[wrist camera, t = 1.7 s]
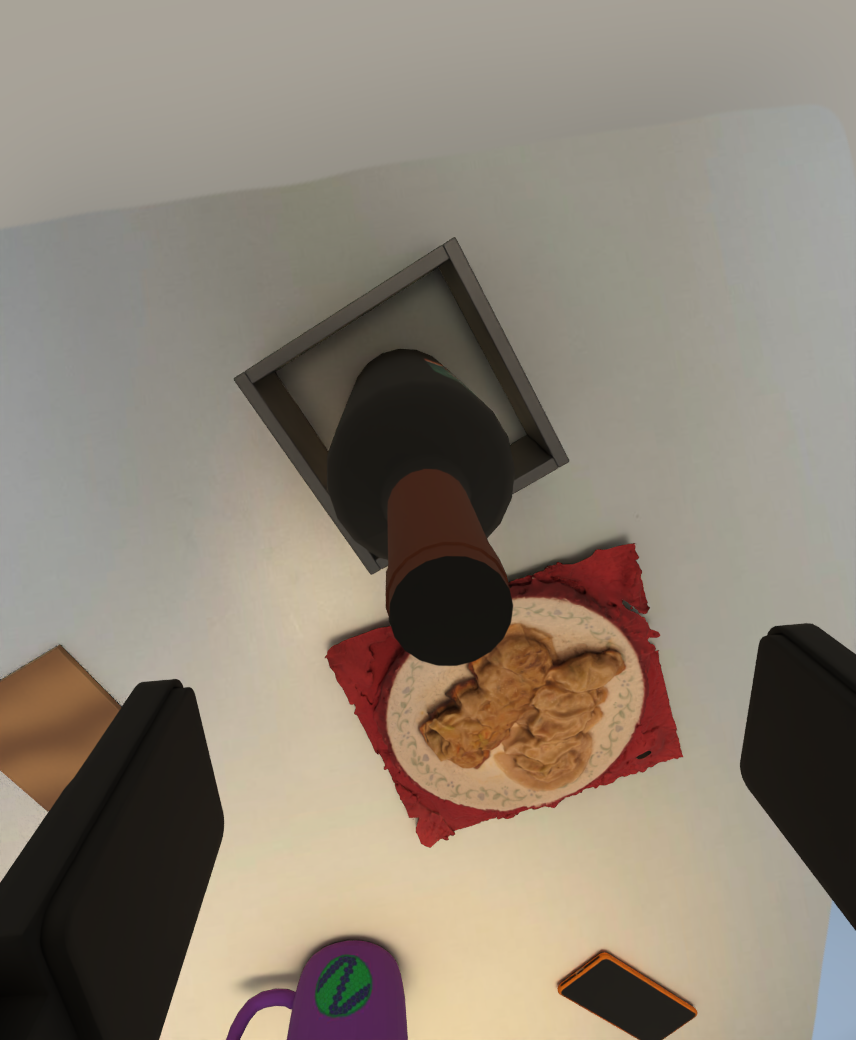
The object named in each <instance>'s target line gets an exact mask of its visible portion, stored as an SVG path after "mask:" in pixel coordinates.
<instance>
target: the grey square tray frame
mask: <svg viewBox="0 0 856 1040" xmlns="http://www.w3.org/2000/svg"><path fill="white" fill-rule="evenodd" d="M438 267H439V269H440V271H441V273H442V275H443V277H444V279H445V281H446V282H447V284H448V286H449V288H450V290H451V292H452V294H453V296H454V298H455V299H456V301H457V303H458V305H459V307H460V309H461V311H462V313H463V315H464V316H465V318H466V320H467V322H468V324H469V326H470V328H471V330H472V332H473V333H474V335H475V337H476V339H477V341H478V343H479V345H480V347H481V349H482V350H483V352H484V354H485V356H486V358H487V360H488V362H489V364H490V366H491V367H492V369H493V371H494V373H495V375H496V377H497V379H498V381H499V383H500V384H501V386H502V388H503V390H504V392H505V394H506V396H507V398H508V399H509V401H510V403H511V405H512V407H513V409H514V411H515V413H516V415H517V416H518V418H519V420H520V422H521V424H522V426H523V428H524V430H525V432H526V433H527V435H528V436H527V435H526V436H524V437H523V438H521V439H519V440H517V441H516V442H514V443H512V444H511V445H510V449H511V453H512V458H513V463H514V468H515V474H514V483H513V492H512V494H514V493H516V492H518V491H519V490H521V489H523V488H525V487H526V486H528V485H530V484H531V483H533V482H535V481H537V480H538V479H540V478H542V477H544V476H545V475H547V474H549V473H551V472H552V471H554V470H556V469H558V467H561V466H563V465H565V464H566V463H568V462H569V459H568V457H567V455H566V453H565V451H564V449H563V447H562V445H561V443H560V441H559V439H558V437H557V435H556V433H555V431H554V429H553V427H552V426H551V424H550V422H549V420H548V418H547V416H546V414H545V412H544V410H543V408H542V406H541V404H540V402H539V400H538V398H537V396H536V394H535V392H534V390H533V388H532V386H531V384H530V382H529V380H528V378H527V377H526V375H525V373H524V371H523V369H522V367H521V365H520V363H519V361H518V359H517V357H516V355H515V353H514V351H513V349H512V347H511V345H510V343H509V341H508V339H507V337H506V335H505V333H504V331H503V329H502V328H501V326H500V324H499V322H498V320H497V318H496V316H495V314H494V312H493V310H492V308H491V306H490V304H489V302H488V300H487V298H486V296H485V294H484V292H483V290H482V288H481V286H480V284H479V282H478V280H477V279H476V277H475V275H474V273H473V271H472V269H471V267H470V265H469V263H468V261H467V259H466V257H465V255H464V253H463V251H462V249H461V247H460V245H459V243H458V241H457V239H456V238H455V237H453V238H452V239H450V240H449V241H447V242H446V243H444V244H443V245H441V246H439V247H438V248H436V249H435V250H433V251H432V252H430V253H428V254H427V255H425V256H424V257H422V258H421V259H419V260H418V261H416V262H414V263H413V264H411V265H410V266H408V267H407V268H405V269H403V270H402V271H400V272H399V273H397V274H396V275H394V276H393V277H391V278H389V279H388V280H386V281H385V282H383V283H382V284H380V285H378V286H377V287H375V288H374V289H372V290H371V291H369V292H368V293H366V294H364V295H363V296H361V297H360V298H358V299H357V300H355V301H354V302H352V303H350V304H349V305H347V306H346V307H344V308H343V309H341V310H339V311H338V312H336V313H335V314H333V315H332V316H330V317H329V318H327V319H325V320H324V321H322V322H321V323H319V324H318V325H316V326H315V327H313V328H311V329H310V330H308V331H307V332H305V333H304V334H302V335H300V336H299V337H297V338H296V339H294V340H293V341H291V342H290V343H288V344H286V345H285V346H283V347H282V348H280V349H279V350H277V351H276V352H274V353H272V354H271V355H269V356H268V357H266V358H265V359H263V360H261V361H260V362H258V363H257V364H255V365H254V366H252V367H251V368H249V369H247V370H246V371H245V372H243V373H241V374H240V375H238V376H237V377H235V378H234V381H235V382H236V384H237V385H238V387H239V388H240V389H241V391H242V392H243V394H244V395H245V397H246V398H247V399H248V401H249V402H250V404H251V405H252V407H253V408H254V409H255V411H256V412H257V414H258V415H259V416H260V418H261V419H262V421H263V422H264V424H265V425H266V426H267V428H268V429H269V431H270V432H271V434H272V435H273V436H274V438H275V439H276V441H277V442H278V444H279V445H280V446H281V448H282V449H283V451H284V452H285V453H286V455H287V456H288V458H289V459H290V461H291V462H292V463H293V465H294V466H295V468H296V469H297V471H298V472H299V473H300V475H301V476H302V478H303V479H304V480H305V482H306V483H307V485H308V486H309V488H310V489H311V490H312V492H313V493H314V495H315V496H316V498H317V499H318V500H319V502H320V503H321V505H322V506H323V508H324V509H325V510H326V512H327V513H328V515H329V516H330V517H331V519H332V520H333V522H334V523H335V525H336V526H337V527H338V529H339V530H340V532H341V533H342V535H343V536H344V537H345V539H346V540H347V542H348V543H349V544H350V546H351V547H352V549H353V550H354V552H355V553H356V554H357V556H358V557H359V559H360V560H361V562H362V563H363V564H364V566H365V567H366V569H367V570H368V572H369V573H370V574H371V575H372V574H374V573H376V572H377V571H379V570H381V569H383V568H385V567H387V566H388V560H386V559H383V558H380V557H377V556H375V555H374V554H373V553H371V552H370V551H368V550H367V549H365V548H364V547H363V546H361V545H360V544H358V543H357V542H355V541H354V540H353V538H352V537H351V536H350V534H349V533H348V532H347V530H346V529H345V528H344V526H343V525H342V524H341V523H340V521H339V520H338V519H337V516H336V513H335V510H334V507H333V504H332V501H331V498H330V495H329V492H328V488H327V456H328V453H329V452H328V451H327V449H326V448H325V446H324V445H323V443H322V442H321V440H320V439H319V437H318V436H317V434H316V433H315V431H314V430H313V428H312V427H311V425H310V424H309V422H308V421H307V419H306V418H305V416H304V415H303V413H302V412H301V410H300V409H299V407H298V406H297V404H296V403H295V401H294V400H293V399H292V397H291V396H290V394H289V393H288V391H287V390H286V388H285V387H284V385H283V384H282V382H281V381H280V379H279V378H278V376H277V375H276V373H275V371H276V370H278V369H280V368H281V367H283V366H284V365H286V364H287V363H289V362H291V361H292V360H294V359H295V358H297V357H298V356H300V355H302V354H303V353H305V352H306V351H308V350H309V349H311V348H313V347H314V346H316V345H317V344H319V343H320V342H322V341H324V340H325V339H327V338H328V337H330V336H331V335H333V334H335V333H336V332H338V331H339V330H341V329H342V328H344V327H346V326H347V325H349V324H350V323H352V322H353V321H355V320H357V319H358V318H360V317H361V316H363V315H364V314H366V313H368V312H369V311H371V310H372V309H374V308H375V307H377V306H379V305H380V304H382V303H383V302H385V301H386V300H388V299H390V298H391V297H393V296H394V295H396V294H397V293H399V292H401V291H402V290H404V289H405V288H407V287H408V286H410V285H412V284H413V283H415V282H416V281H418V280H419V279H421V278H423V277H424V276H426V275H427V274H429V273H430V272H432V271H434V270H435V269H437V268H438Z"/></svg>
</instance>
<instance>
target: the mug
mask: <svg viewBox="0 0 856 1040" xmlns="http://www.w3.org/2000/svg"><path fill="white" fill-rule="evenodd" d="M272 1006H285V1007H287V1008H289V1009H292V1013H291V1018H290V1024H289V1030H288V1036H287V1040H408V1035H407V1020H406V1006H405V996H404V989H403V983H402V978H401V973H400V970H399V967H398V965H397V962H396V960H395V959H394V958H393V957H392V955H391V954H390V953H389V952H387V951H386V950H385V949H383V948H382V947H380V946H378V945H376V944H373V943H371V942H366V941H360V940H347V941H342V942H337V943H334V944H331V945H329V946H326V947H324V948H323V949H321V950H320V951H318V952H317V953H315V954H314V955H313V956H312V957H311V958H310V960H309V961H308V962H307V963H306V965H305V967H304V969H303V971H302V974H301V976H300V979H299V983H298V986H297V990H296V992H294V991H291V990H289V989H272V990H267V991H263V992H261V993H259V994H257V995H256V996H254V997H252V998H251V999H249V1000H248V1001H247V1002H246V1003H245V1005H244V1006H243V1007H242V1008H241V1010H240V1011H239V1012H238V1014H237V1016H236V1018H235V1019H234V1021H233V1023H232V1025H231V1027H230V1030H229V1033H228V1036H227V1039H226V1040H240V1038H241V1036H242V1034H243V1032H244V1030H245V1028H246V1026H247V1025H248V1023H249V1021H250V1020H251V1018H252V1017H253V1016H254V1015H255V1013H256V1012H257V1011H259V1010H261V1009H263V1008H266V1007H272Z"/></svg>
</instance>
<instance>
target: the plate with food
mask: <svg viewBox="0 0 856 1040" xmlns="http://www.w3.org/2000/svg"><path fill="white" fill-rule="evenodd" d="M638 558H639V556H638V555H637V553H636V551H635V543H633V544H627V545H621V546H617V547H613V548H610V549H606V550H601V549H597V550H595V552H594V554H593V555H592V556H590V557H589V558H587V559H585V560H582V561H580V562H578V563H575V564H571V565H570V564H565V565H563V564H562V563H559V562H557V564H556V565H552V566H551V565H550V566H547V567H548V568H545V570H544V571H540V572H538V573H535V574H534V575H528V576H526V577H524V578H520V579H516V580H514V581H511V582H509V587H510V591H511V598H512V602H513V612H512V621H511V624H510V626H509V628H508V630H507V632H506V634H505V636H504V638H503V640H502V641H501V642H500V643H499V644H498V645H497V646H496V647H495V648H494V649H493V650H492V651H491V652H490V653H488V654H486V655H484V656H483V657H481V658H479V659H478V660H476V661H473V662H470V663H466V664H462V665H458V666H437V665H433V664H430V663H426V662H423V661H420V660H418V659H417V658H415V657H414V656H412V655H411V654H409V653H408V652H406V651H405V650H404V649H403V647H402V646H401V645H400V644H399V642H398V641H397V640H396V639H395V637H394V634H393V631H392V628H391V626H388V627H382V628H377V629H374V630H371V631H369V632H367V633H363V634H360V635H358V636H355V637H352V638H349V639H347V640H344V641H342V642H340V643H339V644H337V645H334V646H332V647H331V648H330V649H329V650H328V652H327V655H326V656H325V658H327V659H328V662H329V666H330V668H331V669H332V671H334V673H335V676H336V680H337V682H338V683H339V684H340V686H341V687H342V688H343V690H344V692H345V694H346V696H347V698H348V701H349V703H350V704H351V705H352V704H354V705H355V707H356V709H355V712H354V714H355V715H357V716H358V718H359V720H360V722H361V724H362V726H363V727H364V729H365V731H366V733H367V735H368V738H369V739H370V741H371V743H372V746H373V748H374V750H375V752H376V753H377V754H380V755H381V757H382V759H383V761H384V763H385V766H384V770H386V769H388V770H389V772H390V774H391V776H392V780H393V782H395V787H396V790H397V793H398V794H399V796H400V800H402V802H403V804H404V806H405V807H406V810H407V813H408V816H409V818H417V817H419V819H418V820H419V821H418V823H417V827H416V833H417V835H418V837H419V839H420V842H421V844H423V845H424V846H426V847H430V848H431V847H432V846H433V845H434V844H435V843H436V842H437V841H439V840H440V839H441V838H442V839H444V840H449V839H448V836H449V835H452V836H453V835H455V832H454V831H455V830H458V829H462V828H466V827H469V826H472V825H475V824H478V823H480V822H481V821H485V820H486V821H488V820H489V819H492V818H496V817H497V819H501V818H505V819H509V818H513V817H514V816H515V815H518V814H519V812H522V811H525V810H528V809H531V808H532V809H533V810H534V809H539V808H541V807H544V806H546V807H551V808H555V807H556V806H557V805H558V803H559V802H561V801H562V800H563V799H564V798H566V797H570V796H572V795H577V794H578V793H579V792H580V793H582V791H583V790H584V789H586V788H591V787H594V788H597V787H598V786H599V785H608V784H610V783H613V782H614V781H615V780H616V779H617V778H619V777H622V776H623V777H625V776H628V775H630V774H636V773H637V772H638V771H640V772H645V771H646V770H647V768H648V767H653V766H654V765H656V764H657V763H659V762H662V761H664V762H666V761H667V760H670V759H673V758H675V759H678V758H679V757H683V755H682V751H681V749H680V743H679V738H678V736H677V733H676V730H677V728H676V724H675V721H674V719H673V717H672V712H671V708H670V705H669V699H668V695H667V691H666V687H665V682H664V678H663V674H662V671H661V665H660V663H659V654H658V651H659V650H658V651H655V649H656V648H655V646H654V645H653V644H650V643H649V642H648V638H649V637H650V638H651V637H652V638H657V637H659V636H660V634H659V632H657V631H655V630H651V629H650V628H649V625H648V622H646V620H645V618H644V617H641V616H640V615H639V614H636V613H635V612H633V611H632V612H631V611H630V610H628V609H626V608H625V606H624V605H622V601H623V600H625V601H626V602H628V603H629V604H630V605H632V607H633V606H634V607H635V609H637V610H638V612H639V613H643V614H646V613H647V612H648V610H649V609H650V607H648V605H647V600H646V597H645V592H644V588H643V582H642V580H641V574H642V570H641V569H640V567H639V564H637V562H636V560H637V559H638ZM622 599H623V600H622ZM632 607H631V608H630V609H632ZM647 751H651V752H652V753H651V754H650V755H648V756H647V757H645V758H643V759H637V758H636V757H637V756H638V755H640V754H643V753H645V752H647Z"/></svg>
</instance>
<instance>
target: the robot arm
mask: <svg viewBox="0 0 856 1040" xmlns="http://www.w3.org/2000/svg"><path fill="white" fill-rule="evenodd" d="M740 770H741V774H742V778H743V780H744V782H745V784H746V786H747V788H748V789H749V790H750V792H751V793H752V794H753V796H754V797H755V798H756V800H757V801H758V802H759V804H760V805H761V806H762V807H763V809H764V810H765V811H766V813H767V814H768V815H769V817H770V818H771V819H772V821H773V822H774V823H775V825H776V826H777V827H778V829H779V830H780V831H781V833H782V834H783V835H784V837H785V838H786V839H787V840H788V842H789V843H790V844H791V846H792V847H793V848H794V850H795V851H796V852H797V854H798V855H799V856H800V858H801V859H802V860H803V862H804V863H805V864H806V866H807V867H808V868H809V870H810V871H811V872H812V873H813V875H814V876H815V877H816V879H817V880H818V881H819V883H820V884H821V885H822V887H823V888H824V889H825V891H826V892H827V893H828V895H829V896H830V897H831V899H832V900H833V901H834V902H835V904H836V905H837V906H838V908H839V909H840V910H841V912H842V913H843V914H844V916H845V917H846V918H847V920H848V921H849V922H850V924H851V925H852V926H853V927H854V929H855V930H856V654H855V653H853V652H852V651H850V650H849V649H848V648H846V647H845V646H844V645H842V644H841V643H840V642H838V641H837V640H835V639H834V638H833V637H831V636H830V635H829V634H827V633H826V632H824V631H823V630H822V629H820V628H819V627H817V626H815V625H814V624H808V623H805V624H794V625H782V626H775V627H773V628H771V629H770V631H769V632H768V635H767V636H764V637H762V639H761V640H760V643H759V647H758V653H757V660H756V666H755V672H754V678H753V685H752V691H751V697H750V704H749V710H748V716H747V722H746V729H745V735H744V741H743V748H742V754H741V760H740ZM223 832H224V815H223V810H222V806H221V801H220V797H219V793H218V789H217V785H216V780H215V776H214V772H213V768H212V764H211V759H210V755H209V751H208V747H207V743H206V738H205V734H204V730H203V726H202V722H201V717H200V713H199V709H198V705H197V701H196V696H195V693H194V691H193V689H192V688H190V687H186V688H183V685H182V683H181V682H180V680H177V679H172V680H161V681H149V682H141V683H139V684H138V685H137V686H136V687H135V688H134V690H133V691H132V693H131V694H130V696H129V697H128V698H127V700H126V701H125V703H124V704H123V706H122V707H121V709H120V710H119V712H118V713H117V715H116V716H115V718H114V719H113V721H112V722H111V724H110V725H109V727H108V728H107V730H106V731H105V733H104V734H103V735H102V737H101V738H100V740H99V741H98V743H97V744H96V746H95V747H94V749H93V750H92V752H91V753H90V755H89V756H88V758H87V759H86V761H85V762H84V764H83V765H82V767H81V768H80V769H79V771H78V772H77V774H76V775H75V777H74V778H73V779H72V780H71V782H70V783H69V784H68V785H67V786H66V787H65V789H64V790H63V791H62V793H61V794H60V796H59V797H58V799H57V800H56V802H55V803H54V805H53V806H52V808H51V809H50V811H49V812H48V813H47V815H46V816H45V818H44V819H43V821H42V822H41V824H40V825H39V827H38V828H37V830H36V831H35V833H34V834H33V836H32V837H31V838H30V840H29V841H28V843H27V844H26V846H25V847H24V849H23V850H22V852H21V853H20V855H19V856H18V858H17V859H16V860H15V862H14V863H13V865H12V866H11V868H10V869H9V871H8V872H7V874H6V875H5V877H4V878H3V880H2V881H1V883H0V1040H159V1038H160V1035H161V1032H162V1028H163V1025H164V1022H165V1019H166V1016H167V1013H168V1009H169V1006H170V1003H171V1000H172V997H173V994H174V990H175V987H176V984H177V981H178V978H179V975H180V971H181V968H182V965H183V962H184V959H185V956H186V952H187V949H188V946H189V943H190V940H191V937H192V933H193V930H194V927H195V924H196V921H197V918H198V914H199V911H200V908H201V905H202V902H203V898H204V895H205V892H206V889H207V886H208V883H209V879H210V876H211V873H212V870H213V867H214V864H215V860H216V857H217V854H218V851H219V848H220V845H221V841H222V837H223Z"/></svg>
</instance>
